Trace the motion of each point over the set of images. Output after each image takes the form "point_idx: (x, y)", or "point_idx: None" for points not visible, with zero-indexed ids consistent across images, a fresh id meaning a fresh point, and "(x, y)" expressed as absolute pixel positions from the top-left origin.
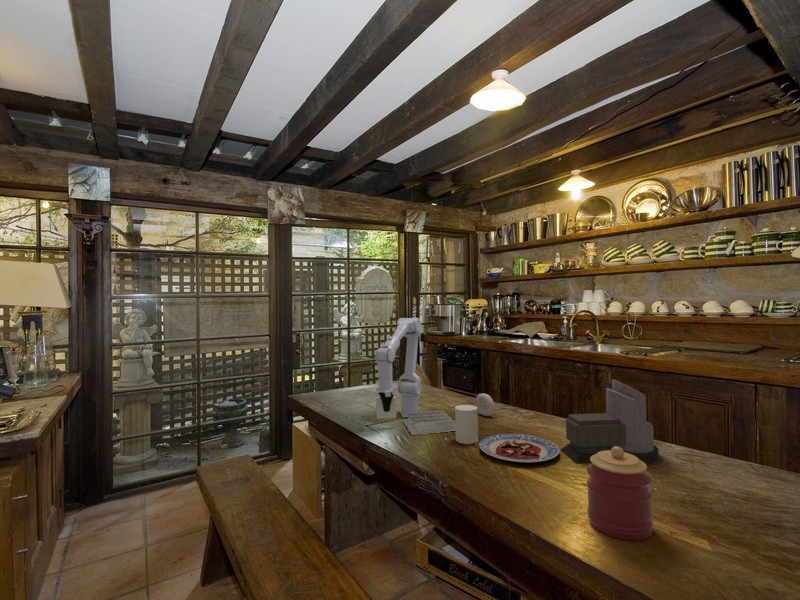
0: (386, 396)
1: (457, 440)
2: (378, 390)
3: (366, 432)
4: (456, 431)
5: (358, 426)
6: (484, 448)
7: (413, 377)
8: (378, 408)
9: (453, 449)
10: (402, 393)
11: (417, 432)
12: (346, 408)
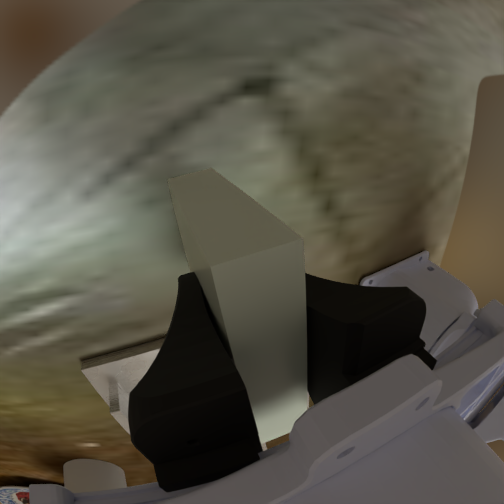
0: (35, 494)
1: (70, 464)
2: (291, 450)
3: (104, 98)
4: (75, 485)
5: (247, 29)
6: (23, 490)
7: (483, 434)
8: (186, 230)
9: (13, 450)
10: (462, 331)
11: (96, 389)
12: (486, 38)
